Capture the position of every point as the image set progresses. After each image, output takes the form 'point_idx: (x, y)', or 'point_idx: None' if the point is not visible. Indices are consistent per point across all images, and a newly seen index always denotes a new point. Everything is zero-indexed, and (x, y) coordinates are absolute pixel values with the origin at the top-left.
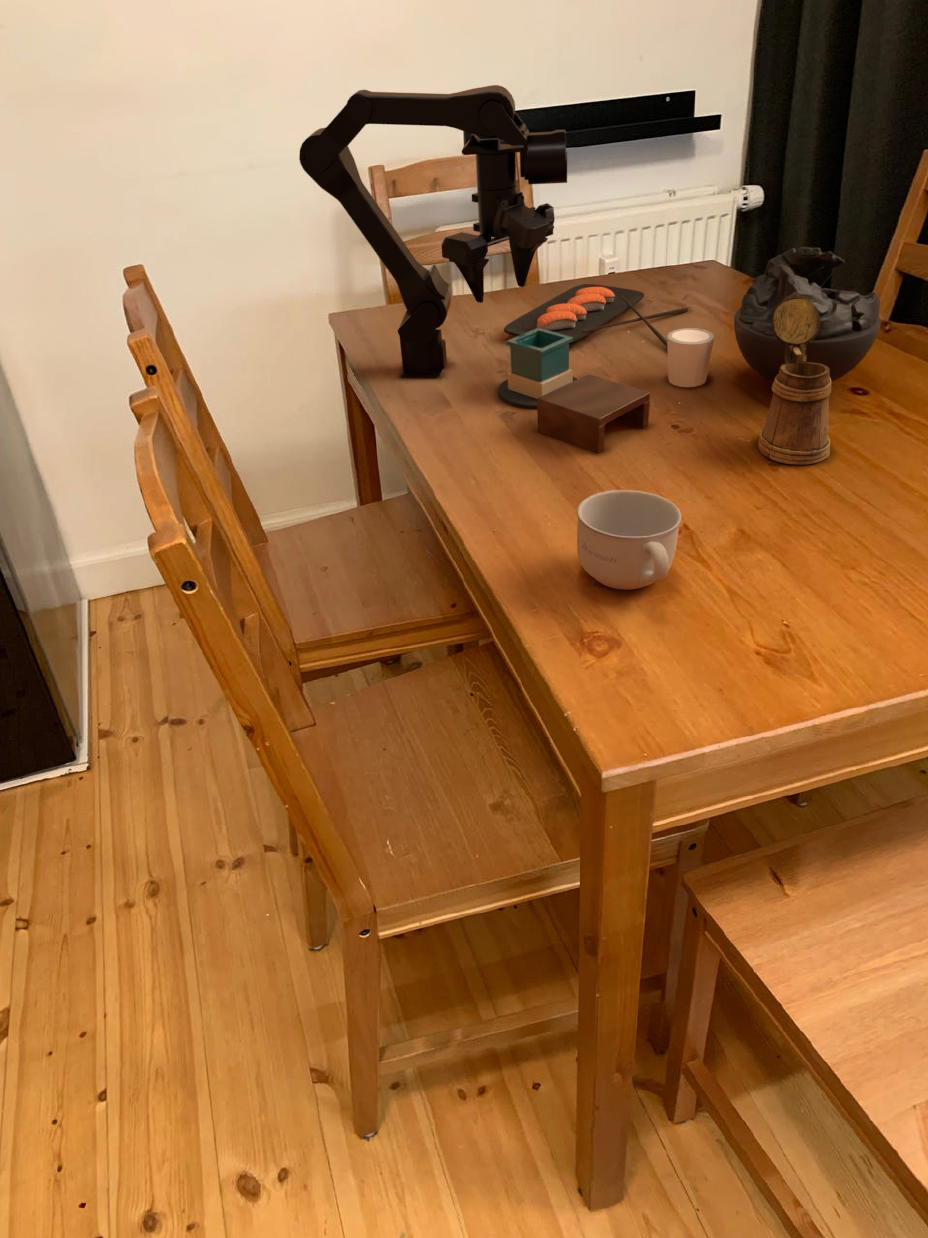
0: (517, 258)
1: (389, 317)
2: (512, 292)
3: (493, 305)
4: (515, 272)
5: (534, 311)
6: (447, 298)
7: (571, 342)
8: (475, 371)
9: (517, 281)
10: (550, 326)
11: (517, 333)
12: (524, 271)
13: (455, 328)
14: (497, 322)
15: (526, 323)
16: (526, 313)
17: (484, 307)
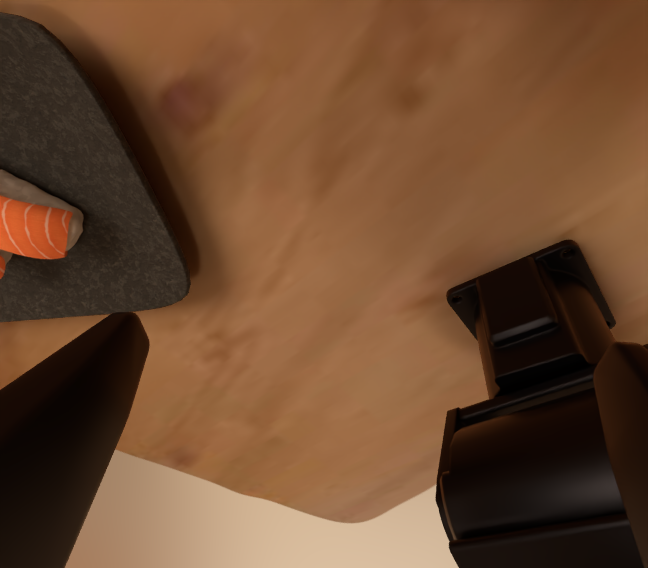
0: (21, 563)
1: (303, 483)
2: None
3: None
4: (113, 441)
5: (31, 311)
6: (530, 487)
7: (21, 16)
8: (455, 180)
9: (138, 371)
10: (38, 197)
11: (171, 245)
12: (50, 406)
13: (246, 390)
14: None
15: (92, 282)
16: (61, 317)
17: None
